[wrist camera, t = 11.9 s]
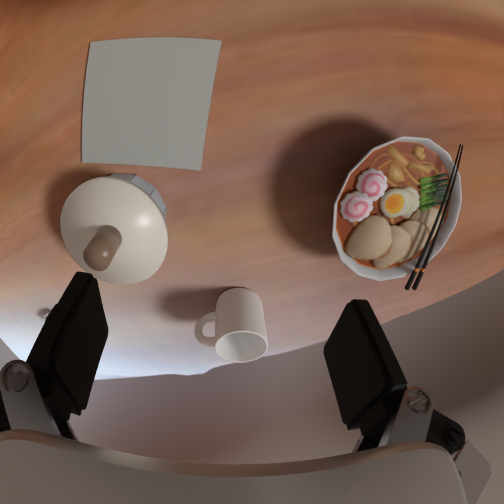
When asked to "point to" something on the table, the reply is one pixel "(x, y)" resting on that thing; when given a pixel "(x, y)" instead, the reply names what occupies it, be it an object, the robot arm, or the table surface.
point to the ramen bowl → (397, 209)
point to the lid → (114, 230)
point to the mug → (236, 326)
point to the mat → (148, 101)
